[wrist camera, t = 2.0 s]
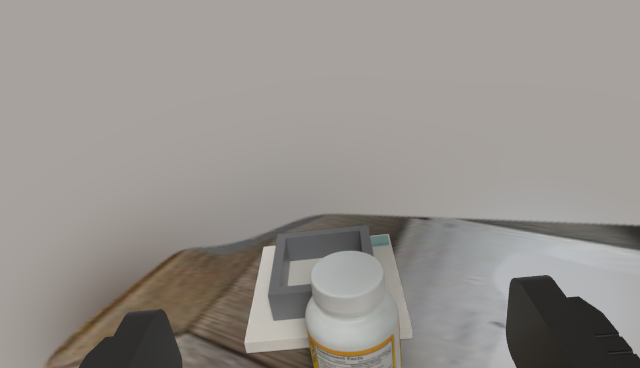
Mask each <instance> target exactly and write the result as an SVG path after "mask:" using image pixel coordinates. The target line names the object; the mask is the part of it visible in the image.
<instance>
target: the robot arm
mask: <svg viewBox="0 0 640 368" xmlns="http://www.w3.org/2000/svg"><path fill="white" fill-rule="evenodd" d="M506 338H507V344H508V348H509V351H510V354H511V357H512V359H513V361H514V363H515V365H516V367H517V368H640V358H639V357H638V356H637V354H633V351H632V348H631V347H630V346H629V345H628V344H627V342H626V341H625V340H624V339H623V337H620V336H619V333H618V331H617V330H616V329H615V328H614V326H613V325H612V324H611V323H610V321H609V320H608V319H607V318H606V317H605V315H604V314H603V313H602V312H601V311H599V310H597V309H596V308H595V307H593V306H592V305H590V304H589V303H587V302H586V301H584V300H583V299H581V298H580V297H568V298H567V297H566V296H565V295H564V293H563V292H562V291H561V289H560V288H559V287H558V285H557V284H556V283H555V281H554V280H553V279H552V278H551V277H550V276H548V275H544V276H532V277H521V278H513V279H512V280H511V282H510V287H509V298H508V310H507V321H506ZM79 368H182V358H181V354H180V351H179V348H178V346H177V343H176V340H175V337H174V334H173V331H172V329H171V326H170V323H169V320H168V317H167V315H166V313H165V312H164V311H163V310H161V309H158V310H148V311H137V312H129V313H128V314H126V316H125V317H124V318H123V320H122V322H121V324H120V325H119V327H118V329H117V331H116V333H115V334H114V336H112V337H105V338H104V339H103V340H102V341H101V342H100V343H99V344H98V345H97V346H96V347H95V348H94V349H93V350H91V351H90V352H89V353H88V354H87V355H86V357H85V358H84V360H83V361H82V363H81V365H80V366H79Z"/></svg>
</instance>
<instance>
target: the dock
mask: <svg viewBox="0 0 640 368" xmlns="http://www.w3.org/2000/svg"><path fill="white" fill-rule="evenodd" d="M341 251H359V252H363V253H367V254H369V255H371V256H373V257H375V258H376V259H377V260H378V261H379V262H380V263H381V265H382V267H383V270H384V278H385V284H386V289H387V290H388V291H389V292H390V293H391V294H392V295H393V297H394V299H395V301H396V303H397V306H398V311H399V325H400V339H412V338H413V337H412V325H411V321H410V317H409V313H408V309H407V305H406V301H405V297H404V293H403V289H402V285H401V281H400V277H399V273H398V269H397V265H396V261H395V257H394V253H393V249H392V245H391V241H390V237H389V234H383V235H373V236H370V233H369V227H368V225H360V226H350V227H341V228H331V229H322V230H312V231H303V232H293V233H284V234H278V235H277V241H276V246H267V247H264V248H263V253H262V258H261V263H260V268H259V273H258V278H257V283H256V288H255V293H254V297H253V302H252V307H251V312H250V317H249V322H248V327H247V332H246V337H245V342H244V344H245V348H246V352H247V353H255V352H266V351H277V350H288V349H300V348H310V345H309V340H308V334H307V329H306V322H305V312H306V307H307V304H308V302H309V300H310V298H311V297H312V296H313V295H312V287H311V279H310V276H311V271H312V269H313V267H314V266H315V264H316V263H317V262H318V261H319V260H321V259H322V258H324V257H325V256H327V255H330V254H333V253H336V252H341Z"/></svg>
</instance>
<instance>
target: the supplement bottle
mask: <svg viewBox="0 0 640 368" xmlns="http://www.w3.org/2000/svg"><path fill="white" fill-rule="evenodd" d="M310 279H311V287H312V295H313V296H312V297H311V298H310V300H309V302H308V304H307V307H306V312H305V322H306V329H307V334H308V340H309V345H310V351H311V357H312V361H313V366H314V368H402V363H401V345H400V325H399V311H398V306H397V303H396V301H395V299H394V297H393V295H392V294H391V293H390V292H389V291H388V290H387V289H386V284H385V278H384V270H383V267H382V265H381V263H380V262H379V261H378V260H377V259H376V258H375V257H373V256H371V255H369V254H367V253H363V252H359V251H341V252H336V253H333V254H330V255H327V256H325V257H324V258H322V259H321V260H319V261H318V262H317V263H316V264H315V266H314V267H313V269H312V271H311V276H310Z"/></svg>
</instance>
